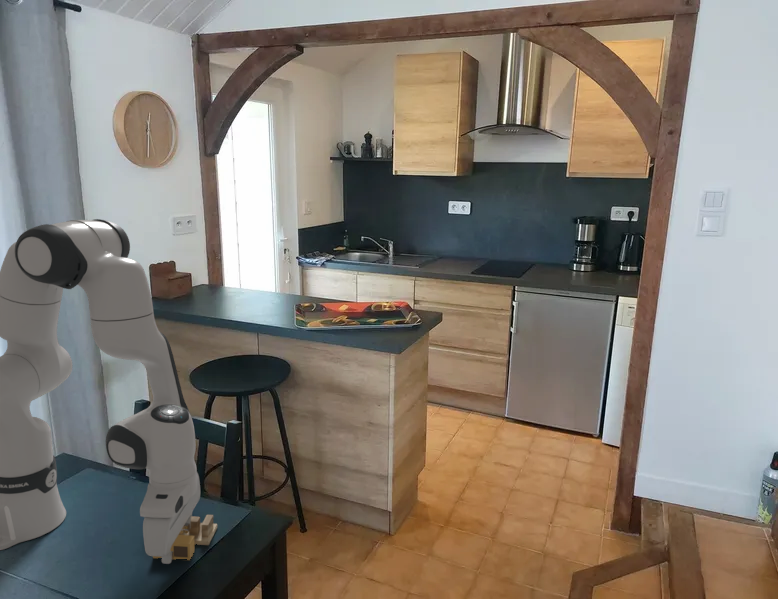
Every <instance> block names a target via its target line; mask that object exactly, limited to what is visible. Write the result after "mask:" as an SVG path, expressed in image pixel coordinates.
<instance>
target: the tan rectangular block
mask: <svg viewBox="0 0 778 599" xmlns="http://www.w3.org/2000/svg"><path fill="white" fill-rule="evenodd" d="M195 545H196V544H194V536H190V535H178V536H177V538H176V540H175V541H174V543H173V545H172V546H171V549H170V550H171V551H173V556H174V558H173V559H172V560H176V559H187V560H186V561H191V560H190V559H192V558H193V555H194V554H193V553H195V552H196V551H195V550H196V549H195ZM191 557H192V558H191ZM158 558H162V557H160V556H152V559H158Z"/></svg>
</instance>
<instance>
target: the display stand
mask: <svg viewBox="0 0 778 599" xmlns="http://www.w3.org/2000/svg"><path fill="white" fill-rule="evenodd" d="M190 523H191V528H190V530H189V531H188V533H181V532H180V533H179V535H190V536H194V545H196V544H197V545H198V546H200V545H201V546H209V545H210V543H211V541H212V539H213V537H214V535H215V533H216V532H217V529H218V523H214V514H206V515H205V517H204V520H202V522H201V516H195V515H194V516H193V515H192V517H191V522H190Z"/></svg>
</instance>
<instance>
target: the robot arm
mask: <svg viewBox="0 0 778 599" xmlns="http://www.w3.org/2000/svg"><path fill="white" fill-rule="evenodd" d="M130 250H131V243H130V239H129V237H128V234H127V233H126V231H125V230H124V228H122V227H121V226H120V225H118V224H117V223H115V222H113V221H109V220H106V219H98V218H96V219H70V220H66V221H61V222H56V223H52V224H50V223H48V224H47V223H46V224H40V225H37V226H33V227H31V228H29V229H26V230H25V231H24V232H22V234H20V235H19V237H17V239H16V242H14V243H13V244H11V245H10V246H9V248H8V249H7V251H6V254H5V256H4V258H3V262H2V264H1V268H0V338H1V339H3V340H4V341H6V342H7V345H6V346H7V348H6V351H5V352H4V353H3V355H1V356H0V551H3V550H5V549H9V548H11V547H12V546H13V547H14V546H15V545H17V544H20V543H23V542H26V541H30V540H31V541H32V540H34V539H36V538H39V537H42V536H44V535H45V534H47V533H48V534H49V533H50V532H52V531H53V530H54V529H56V528H57V527H59V526H60V525H61V524H62V523H63V522H64V520H65V519H66V517H67V510H66V508H65V506H64V504H63V501H62V498H61V496H60V492H59V488H58V485H57V484H58V483H57V482H58V468H57V461H56V456H55V455H54V448H53V437H52V429H51V426H50V424H49V423H48V422H47V421H45V420H44V419H41V418H39V417H37V416H36V417H35V416H33V414H32V412H31V408H30V406H31V403H32V401H35V400H36V399H39V398H40V397H42V396H44V395H47V394H49V393H50V392H52V391H54V390H55V389H56V388H58V387H60V385H62V384H63V383H64V382H65V381H67V379H68V378H69V377H70V375H71V374H72V373H73V360H72V357H71V355H70V353H69V352H68V350H67V349H65V348H64V347H63V346H62V345H60V344H59V340H58V324H59V323H58V322H59V318H60V317H59V316H60V310H61V304H62V298H63V292H64V289H66V290H72V289H74V288H75V287H76V286H79V287H80V288H81V289H82V290H84V292H85V294H86V296H87V300H88V308H89V317H90V319H89V320H90V326H91V328H90V329H91V333H92V338H93V340H94V342H95V345H96V346H97V347H98V348H99V349H100V351H102V352H103V353H104V354H106V355H108V356H109V357H113V358H115V359H120V360H124V361H125V360H128V361H137V362H140V363H141V364H142V365H143V367H144V368H145V371H146V376H147V378H148V383H149V385H150V389H151V390H150V391H151V394H152V396H153V397H152V402H151V404H150V405H149V406H148V407H147V408H145V409H143V410H141V411H139V412H137V413H135V414H132V415H130V416H128V417H125V418H124V419H122V420H120V421H118V422H117V423H115V424H114V425H112V426H110V428H109V429H108V431H107V433H106V437H105V449H106V453H107V456H108V458H109V459H110V461H111V462H112V463H114V464H115V465H117V466H118V467H119V466H120V467H122V468H125V469H132V470H144V469H147V470H148V479H149V480H148V481H149V483H148V485H147V488H146V492H145V495H144V498H143V501H142V503H141V504H140V507H139V515H140V517H142V518H144V519H143V521H142V522H143V523H142V535H143V544H144V551H145V554H146V555H147V556H149V557H153V556H160V557H162V559H161V563H162V564H163V565H164V564H166V565H169V564H171V563H172V561H173V560H174V559H173V558H174V556H173V551H171V550H170V549H171V546H172V545H173V543H174V541H175V540H176V538H177V536H178V535H179V533H180V532H181V533H188V531H189V530H190V528H191V523H190V522H191V517H192V516H193V511H194V509H195V507H196V506H197V504H198V503H199V501H200V500H201V499H200V498H201V485H200V484H201V482H200V476H199V473H198V471H197V470H198V469H197V465H196V461H195V453H196V450H197V449H196V448H197V446H196V444H197V443H196V433H195V426H194V422H193V418H192V415H191V411H190V409H189V407H188V405H187V403H186V401H185V398H184V395H183V391H182V386H181V383H180V382H181V381H180V378H179V374H178V370H177V366H176V361H175V358H174V354H173V350H172V347H171V345H170V341H169V340H168V338H167V337H166V336H165V334H164V333H163V332H161V331H160V330H159V328H158V326H157V322H156V319H155V314H154V306H153V305H154V304H153V299H152V294H151V289H150V286H149V285H150V284H149V282H148V278H147V275H146V272H145V269H144V267H143V266H142V265H141V263H140V262H138V261H137V260H134V259H133V258H129V255H130Z"/></svg>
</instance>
